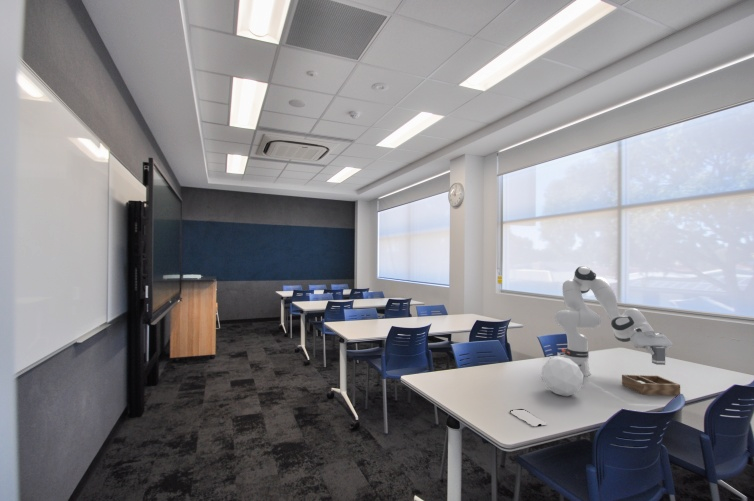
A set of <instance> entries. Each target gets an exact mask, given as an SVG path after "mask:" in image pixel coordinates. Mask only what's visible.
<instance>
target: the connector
mask: <svg viewBox="0 0 754 501" xmlns="http://www.w3.org/2000/svg"><path fill="white" fill-rule="evenodd" d="M652 350H653V351H655V353H656V354H655V355H651V363H652V364H654V365H658V366H659V365H660V366H665V365H666V355H665V352H666V349H665V348H663V347H656V346H652Z"/></svg>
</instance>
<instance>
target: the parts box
mask: <svg viewBox="0 0 754 501" xmlns="http://www.w3.org/2000/svg"><path fill="white" fill-rule="evenodd" d="M638 381H642V382H645V383H641V382H638ZM621 385H623V386H624V387H626V388H628V389H631V390H632V391H634V392H637V393H638V394H640V395H641V396H642V395H644V396H645V395H646V396H647V395H648V396H649V395H652V396H654V395H655V396H680V395H681V384H680V383H677V382H675V381H671V380H669V379H667V378H664V377H661V376H659V375H657V374H655V375H652V374H651V375H650V374H649V375H647V374H643V375H641V374H640V375H639V374H622V375H621ZM679 394H680V395H679Z"/></svg>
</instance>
